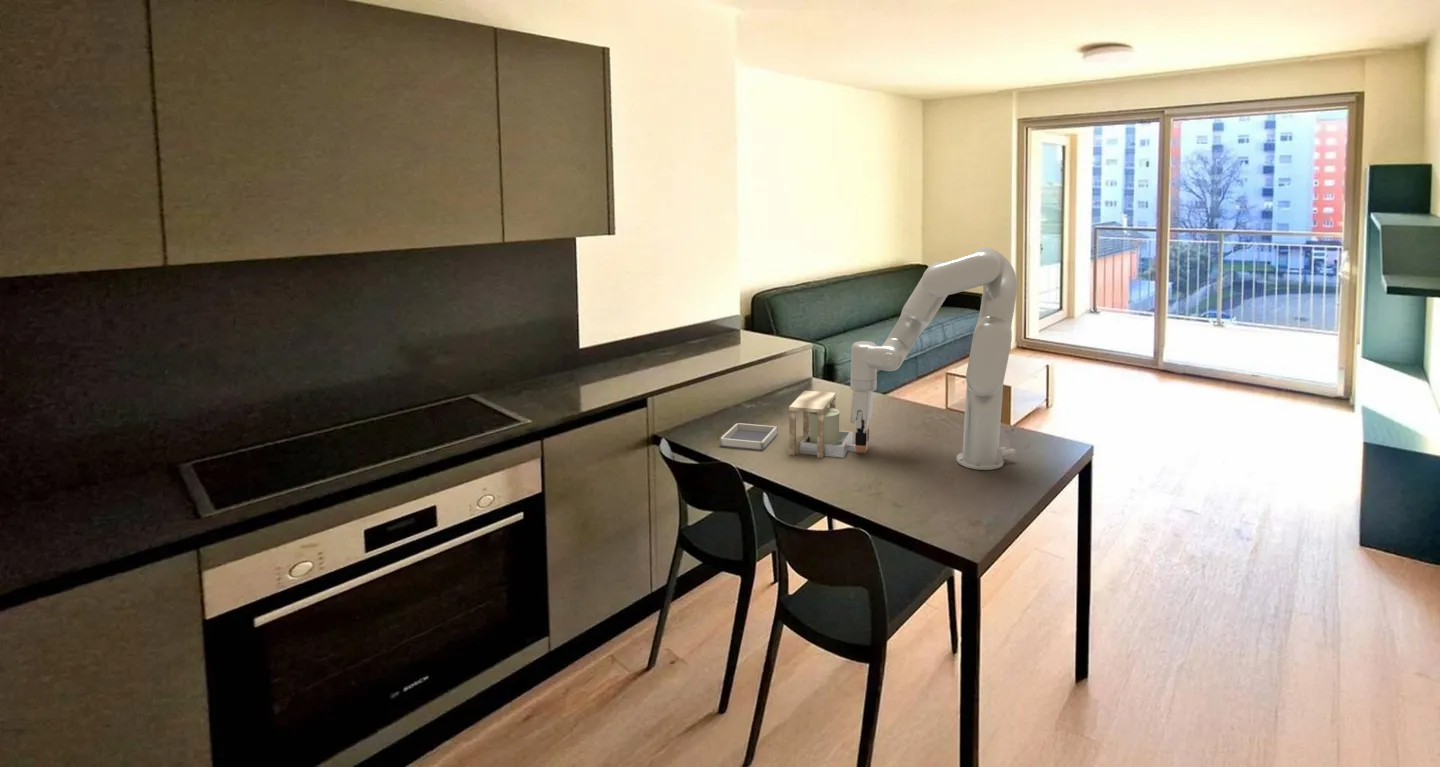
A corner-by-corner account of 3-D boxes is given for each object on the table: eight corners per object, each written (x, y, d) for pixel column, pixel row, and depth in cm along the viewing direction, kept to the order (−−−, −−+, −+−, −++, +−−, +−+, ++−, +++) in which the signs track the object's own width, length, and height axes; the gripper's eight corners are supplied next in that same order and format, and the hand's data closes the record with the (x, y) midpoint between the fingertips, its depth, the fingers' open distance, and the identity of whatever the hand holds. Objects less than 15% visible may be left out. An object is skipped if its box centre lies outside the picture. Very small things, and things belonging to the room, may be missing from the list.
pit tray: (777, 434, 239) (777, 426, 238) (763, 451, 224) (762, 442, 224) (736, 430, 244) (736, 422, 243) (719, 446, 229) (719, 438, 229)
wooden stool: (835, 438, 233) (835, 392, 229) (822, 458, 217) (822, 409, 213) (804, 435, 237) (804, 390, 233) (789, 455, 221) (789, 406, 217)
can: (841, 452, 221) (841, 414, 218) (810, 453, 221) (810, 415, 218) (837, 442, 230) (837, 405, 227) (807, 442, 230) (807, 405, 227)
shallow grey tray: (870, 443, 228) (871, 412, 225) (862, 459, 215) (863, 427, 212) (811, 438, 234) (811, 408, 231) (800, 453, 221) (800, 421, 219)
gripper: (855, 376, 225) (854, 433, 230) (845, 390, 210) (843, 451, 215) (880, 377, 222) (878, 435, 227) (871, 392, 208) (869, 453, 212)
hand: (861, 442), depth 221 cm, fingers closed on shallow grey tray, 3 cm apart
